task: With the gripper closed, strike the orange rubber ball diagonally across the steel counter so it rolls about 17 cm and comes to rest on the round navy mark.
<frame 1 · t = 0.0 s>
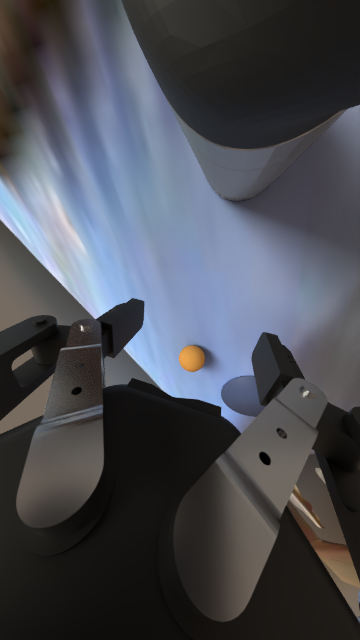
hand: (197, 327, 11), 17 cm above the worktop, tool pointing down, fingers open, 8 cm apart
ball: (191, 358, 32), on the worktop
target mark: (251, 397, 37), on the worktop
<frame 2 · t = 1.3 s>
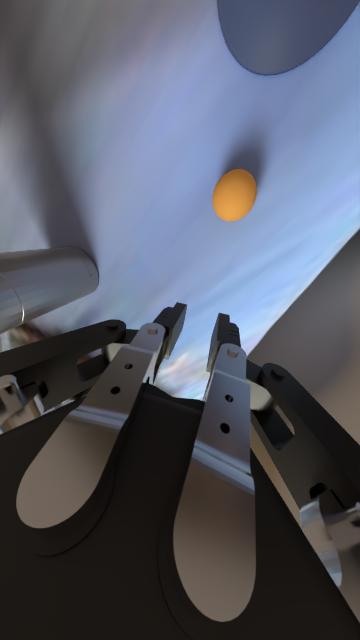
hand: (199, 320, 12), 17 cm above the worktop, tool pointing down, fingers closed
ball: (233, 197, 20), on the worktop
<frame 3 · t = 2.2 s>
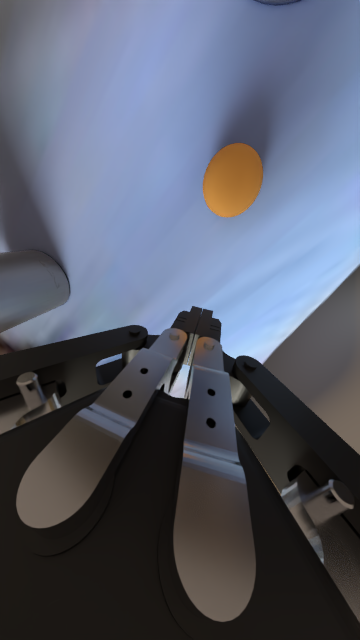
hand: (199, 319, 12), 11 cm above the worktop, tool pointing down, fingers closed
ball: (231, 184, 15), on the worktop
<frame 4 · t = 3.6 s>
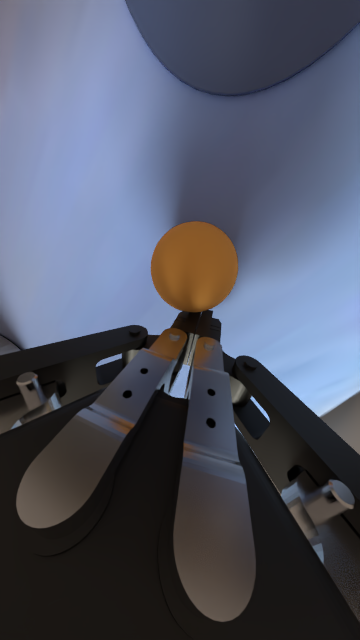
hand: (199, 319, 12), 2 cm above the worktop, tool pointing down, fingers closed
ball: (193, 270, 10), on the worktop
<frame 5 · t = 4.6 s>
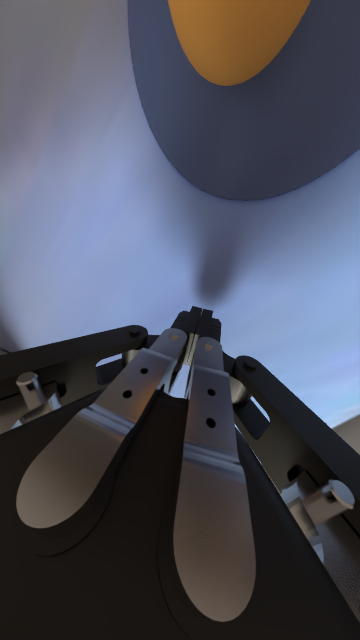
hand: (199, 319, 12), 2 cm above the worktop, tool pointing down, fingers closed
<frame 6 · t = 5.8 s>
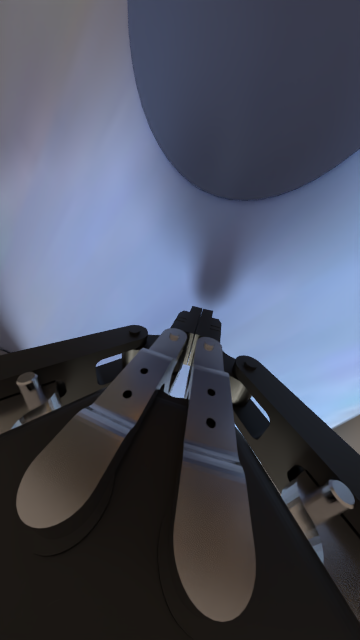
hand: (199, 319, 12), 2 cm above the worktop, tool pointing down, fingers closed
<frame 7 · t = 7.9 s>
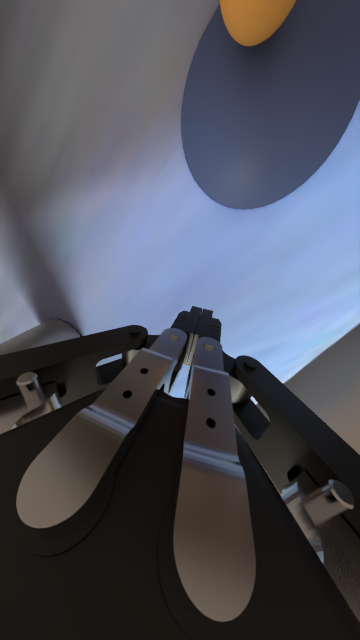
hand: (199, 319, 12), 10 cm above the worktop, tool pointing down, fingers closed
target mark: (260, 112, 13), on the worktop
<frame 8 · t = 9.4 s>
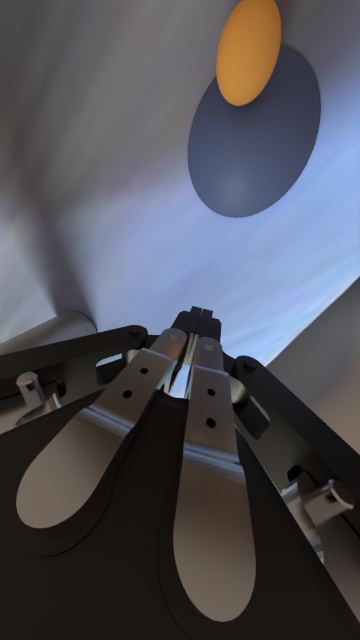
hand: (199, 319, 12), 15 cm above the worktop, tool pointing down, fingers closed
ball: (246, 57, 14), on the worktop
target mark: (246, 147, 18), on the worktop
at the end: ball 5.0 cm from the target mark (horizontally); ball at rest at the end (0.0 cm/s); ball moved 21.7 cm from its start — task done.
